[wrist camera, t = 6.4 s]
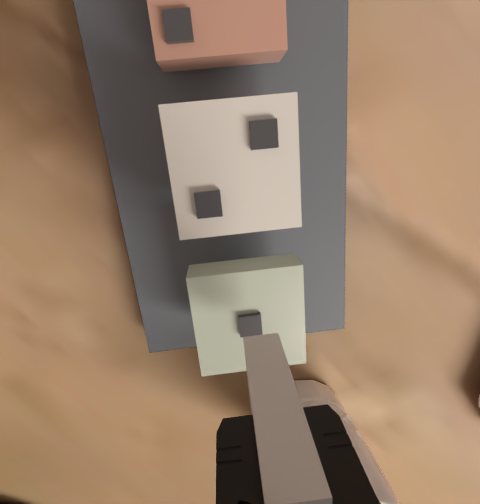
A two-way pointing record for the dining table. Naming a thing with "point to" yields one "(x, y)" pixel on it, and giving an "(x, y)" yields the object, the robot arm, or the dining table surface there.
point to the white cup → (322, 395)
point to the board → (156, 168)
